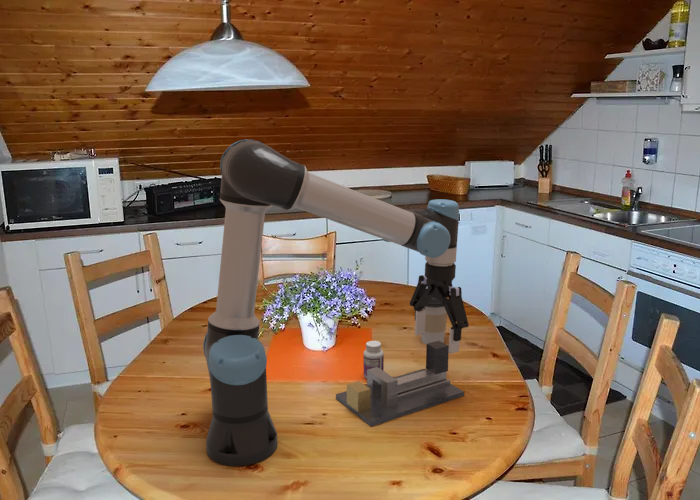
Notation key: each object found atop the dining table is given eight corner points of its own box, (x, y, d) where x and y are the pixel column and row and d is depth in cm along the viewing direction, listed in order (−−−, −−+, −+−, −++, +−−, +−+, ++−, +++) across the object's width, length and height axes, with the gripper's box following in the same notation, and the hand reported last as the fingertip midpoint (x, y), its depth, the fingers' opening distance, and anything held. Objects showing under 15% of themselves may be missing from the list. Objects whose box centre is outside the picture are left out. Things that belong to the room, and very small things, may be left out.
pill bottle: (371, 370, 169) (371, 337, 166) (387, 376, 166) (387, 342, 163) (359, 377, 165) (359, 344, 162) (375, 383, 161) (375, 348, 159)
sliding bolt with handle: (437, 375, 162) (438, 340, 159) (447, 381, 159) (448, 345, 156) (387, 390, 154) (388, 353, 151) (397, 397, 150) (397, 359, 148)
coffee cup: (447, 347, 184) (448, 300, 180) (417, 345, 185) (417, 298, 182) (447, 336, 193) (448, 290, 189) (418, 334, 194) (419, 289, 190)
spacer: (370, 408, 146) (358, 412, 144) (358, 399, 150) (346, 403, 148) (370, 388, 145) (358, 392, 143) (358, 380, 149) (346, 384, 147)
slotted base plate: (424, 372, 167) (425, 346, 166) (464, 395, 154) (465, 368, 152) (335, 398, 153) (335, 370, 151) (371, 426, 140) (371, 396, 138)
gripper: (487, 272, 143) (481, 357, 148) (421, 250, 164) (417, 325, 169) (463, 276, 139) (457, 363, 144) (398, 253, 160) (395, 329, 165)
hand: (436, 342), depth 157 cm, fingers open, 13 cm apart
